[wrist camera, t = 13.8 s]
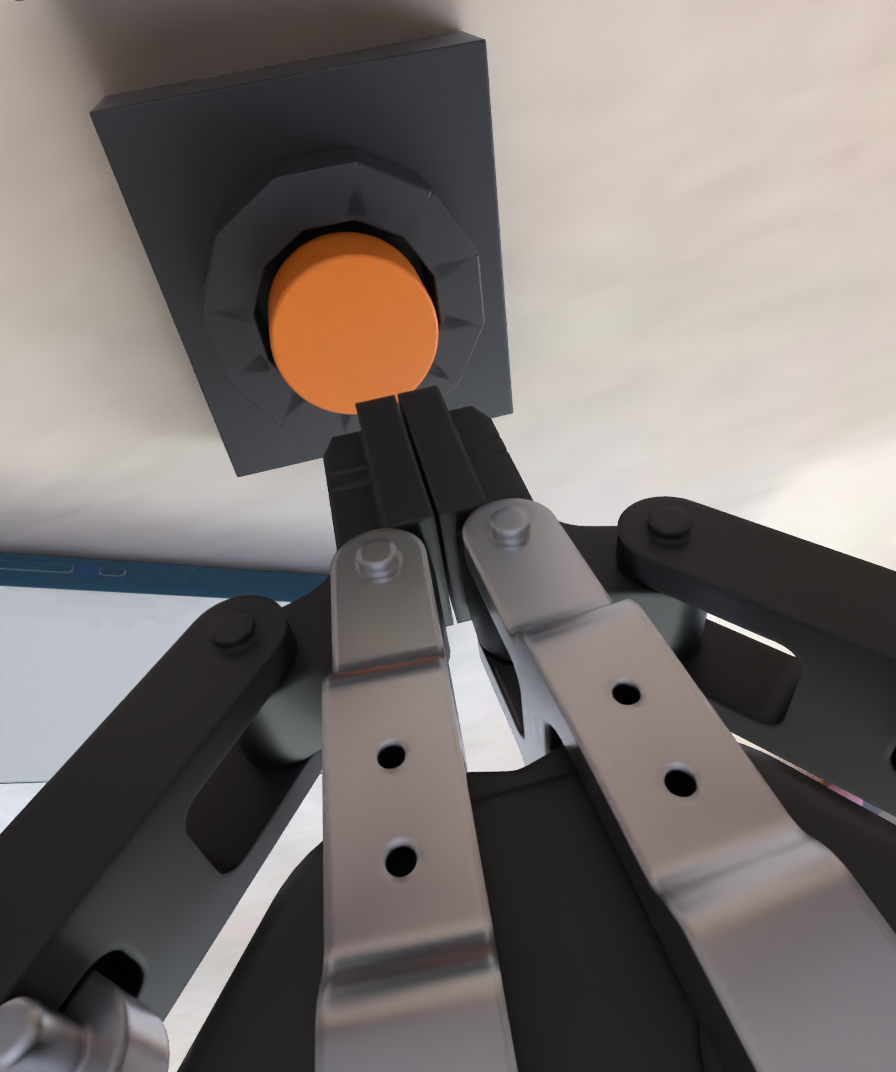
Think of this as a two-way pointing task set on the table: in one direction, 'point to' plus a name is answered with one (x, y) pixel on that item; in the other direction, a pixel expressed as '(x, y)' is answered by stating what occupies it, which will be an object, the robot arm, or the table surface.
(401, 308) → the button
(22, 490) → the table surface
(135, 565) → the external hard drive
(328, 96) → the button box
